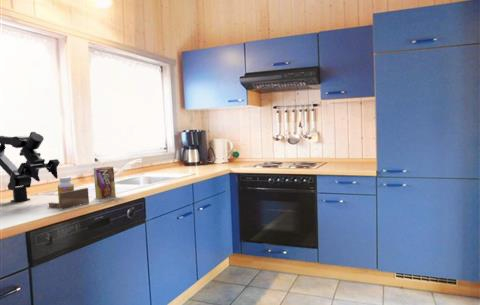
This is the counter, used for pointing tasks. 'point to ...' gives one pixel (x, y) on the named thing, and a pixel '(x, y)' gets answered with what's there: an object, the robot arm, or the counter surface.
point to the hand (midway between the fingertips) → (48, 179)
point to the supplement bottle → (65, 185)
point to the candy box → (104, 182)
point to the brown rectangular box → (71, 199)
